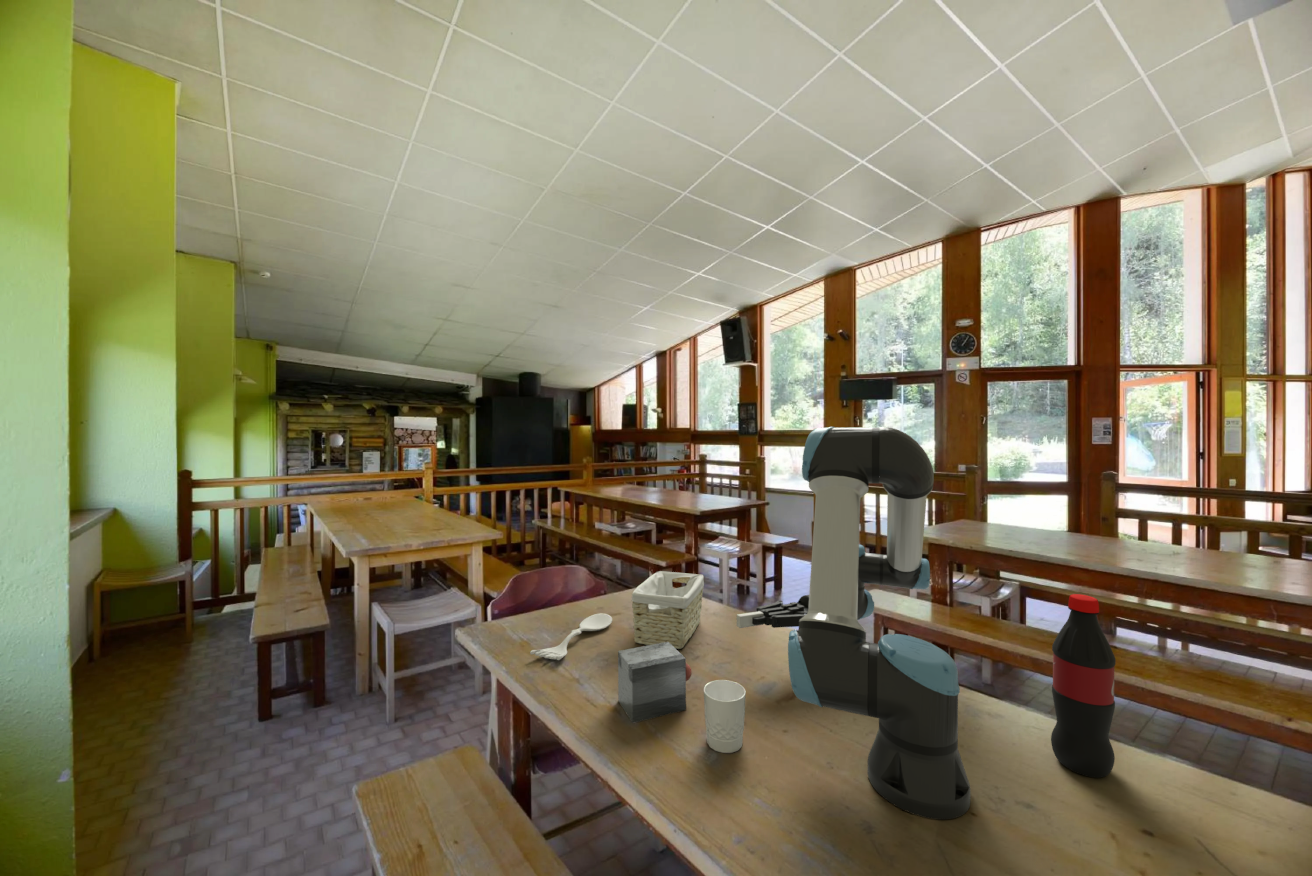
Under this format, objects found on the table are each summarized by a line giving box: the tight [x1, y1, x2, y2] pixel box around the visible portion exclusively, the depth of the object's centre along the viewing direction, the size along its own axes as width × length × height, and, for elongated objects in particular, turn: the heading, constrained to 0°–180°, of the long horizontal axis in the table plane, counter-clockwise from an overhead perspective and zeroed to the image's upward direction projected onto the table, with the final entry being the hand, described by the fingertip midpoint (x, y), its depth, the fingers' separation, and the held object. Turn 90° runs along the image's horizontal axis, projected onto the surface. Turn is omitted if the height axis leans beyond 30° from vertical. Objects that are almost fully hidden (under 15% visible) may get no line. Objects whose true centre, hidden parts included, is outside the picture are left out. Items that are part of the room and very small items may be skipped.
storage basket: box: [631, 570, 705, 650], centre depth 146 cm, size 24×16×15 cm
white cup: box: [703, 679, 747, 754], centre depth 95 cm, size 8×8×10 cm
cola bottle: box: [1050, 593, 1117, 778], centre depth 87 cm, size 8×8×30 cm
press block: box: [617, 642, 687, 724], centre depth 107 cm, size 12×9×11 cm
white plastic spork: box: [529, 612, 613, 661], centre depth 140 cm, size 9×32×4 cm, turn 157°
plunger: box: [686, 662, 693, 682], centre depth 108 cm, size 14×4×4 cm, turn 113°
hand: (738, 621), depth 116 cm, fingers closed
